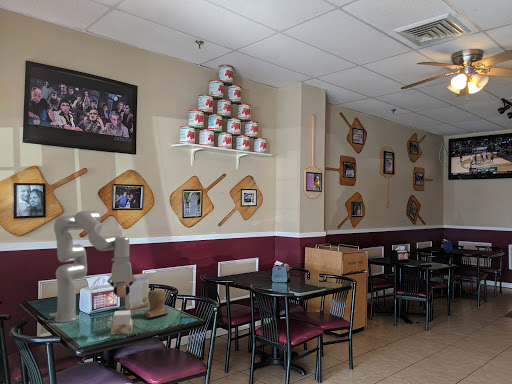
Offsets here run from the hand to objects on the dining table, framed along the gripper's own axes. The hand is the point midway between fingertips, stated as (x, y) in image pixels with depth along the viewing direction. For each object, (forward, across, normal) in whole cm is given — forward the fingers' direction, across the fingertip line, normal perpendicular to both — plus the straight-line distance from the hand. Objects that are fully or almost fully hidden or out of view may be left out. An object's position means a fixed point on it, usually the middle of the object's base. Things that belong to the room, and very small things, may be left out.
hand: (121, 294), depth 216 cm
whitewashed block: (+15, 0, 0) cm, 15 cm away
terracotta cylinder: (+1, 0, 0) cm, 1 cm away
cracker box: (+20, +5, +46) cm, 50 cm away
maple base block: (+20, 0, 0) cm, 20 cm away
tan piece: (+20, +17, +26) cm, 37 cm away
